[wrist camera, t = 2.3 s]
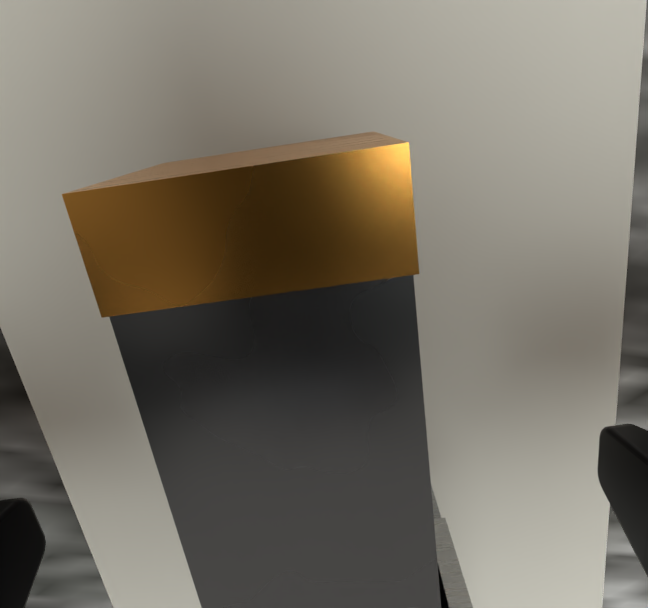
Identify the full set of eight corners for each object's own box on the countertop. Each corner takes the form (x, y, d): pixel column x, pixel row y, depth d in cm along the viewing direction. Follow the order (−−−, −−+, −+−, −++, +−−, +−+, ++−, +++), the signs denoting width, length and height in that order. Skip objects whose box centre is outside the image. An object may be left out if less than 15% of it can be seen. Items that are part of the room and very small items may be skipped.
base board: (188, 761, 18) (184, 782, 17) (-369, -669, 7) (-430, -739, 6) (583, 724, 17) (592, 743, 17) (684, -918, 6) (721, -1020, 6)
